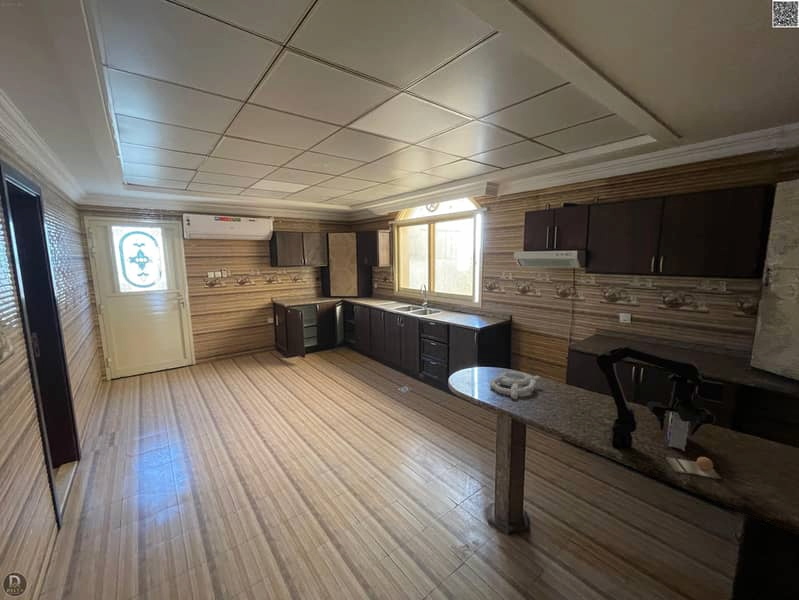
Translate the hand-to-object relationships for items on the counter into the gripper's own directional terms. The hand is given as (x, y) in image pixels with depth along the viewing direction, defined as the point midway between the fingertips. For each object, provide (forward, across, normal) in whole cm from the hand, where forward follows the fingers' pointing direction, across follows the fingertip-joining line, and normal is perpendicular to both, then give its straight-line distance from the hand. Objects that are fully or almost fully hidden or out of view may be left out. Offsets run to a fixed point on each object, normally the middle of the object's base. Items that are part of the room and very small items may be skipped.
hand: (676, 432), depth 123 cm
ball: (+11, +8, -4) cm, 14 cm away
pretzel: (+14, -57, +50) cm, 77 cm away
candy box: (+12, +8, +16) cm, 21 cm away
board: (+11, +5, -3) cm, 13 cm away
